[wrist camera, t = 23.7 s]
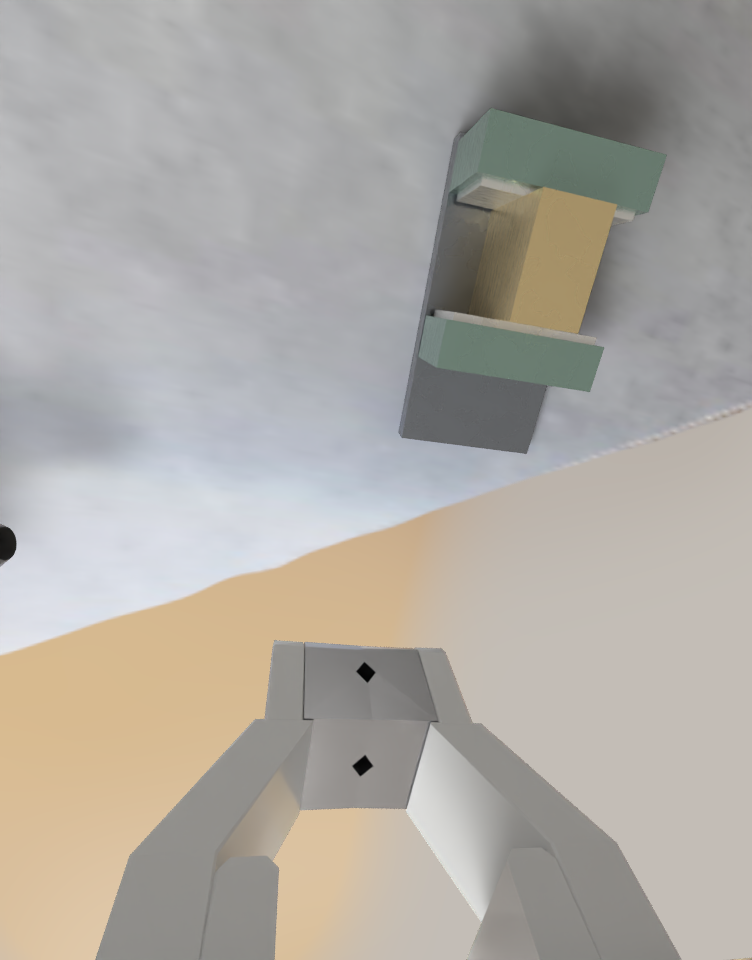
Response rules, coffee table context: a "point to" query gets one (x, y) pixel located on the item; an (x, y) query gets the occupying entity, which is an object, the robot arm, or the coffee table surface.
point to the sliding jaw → (509, 350)
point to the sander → (6, 544)
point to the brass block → (542, 259)
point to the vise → (458, 248)
